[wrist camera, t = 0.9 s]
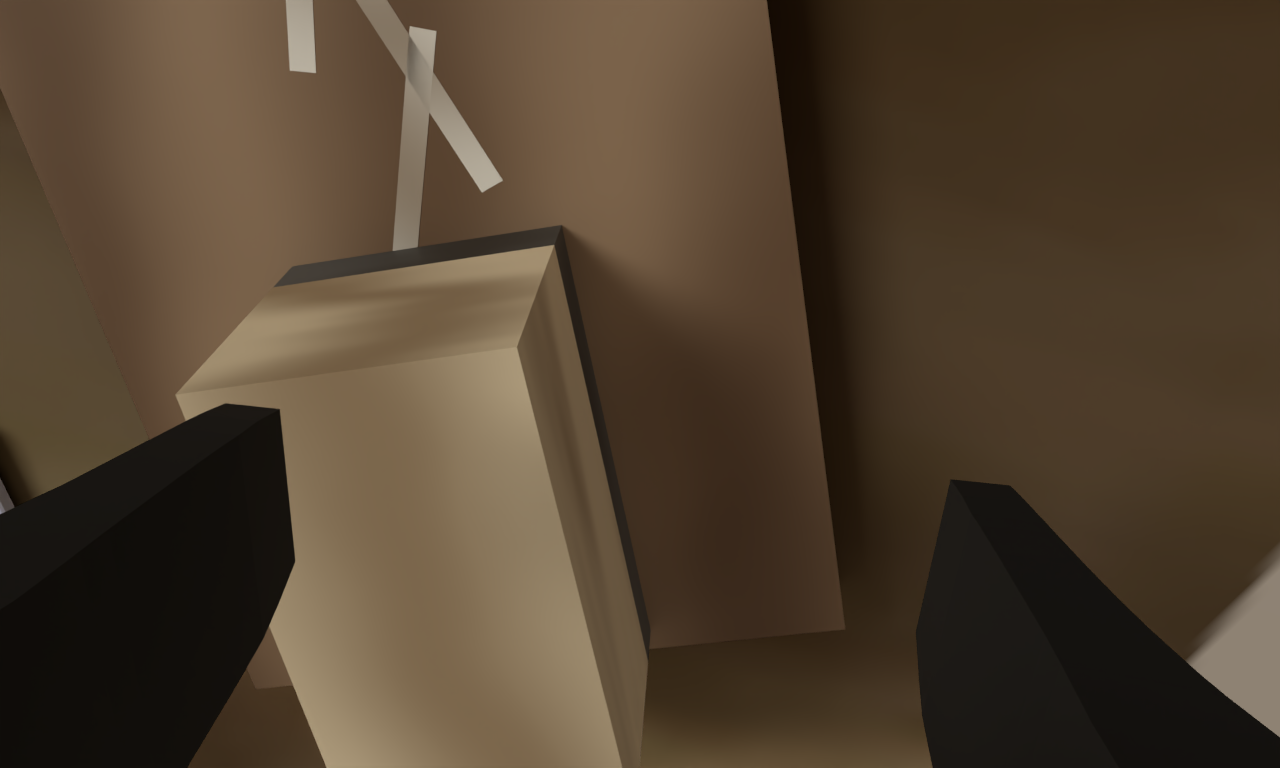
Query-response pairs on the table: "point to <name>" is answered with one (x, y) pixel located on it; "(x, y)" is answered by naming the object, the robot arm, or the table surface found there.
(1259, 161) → the table surface
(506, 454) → the block
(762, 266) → the walnut board
